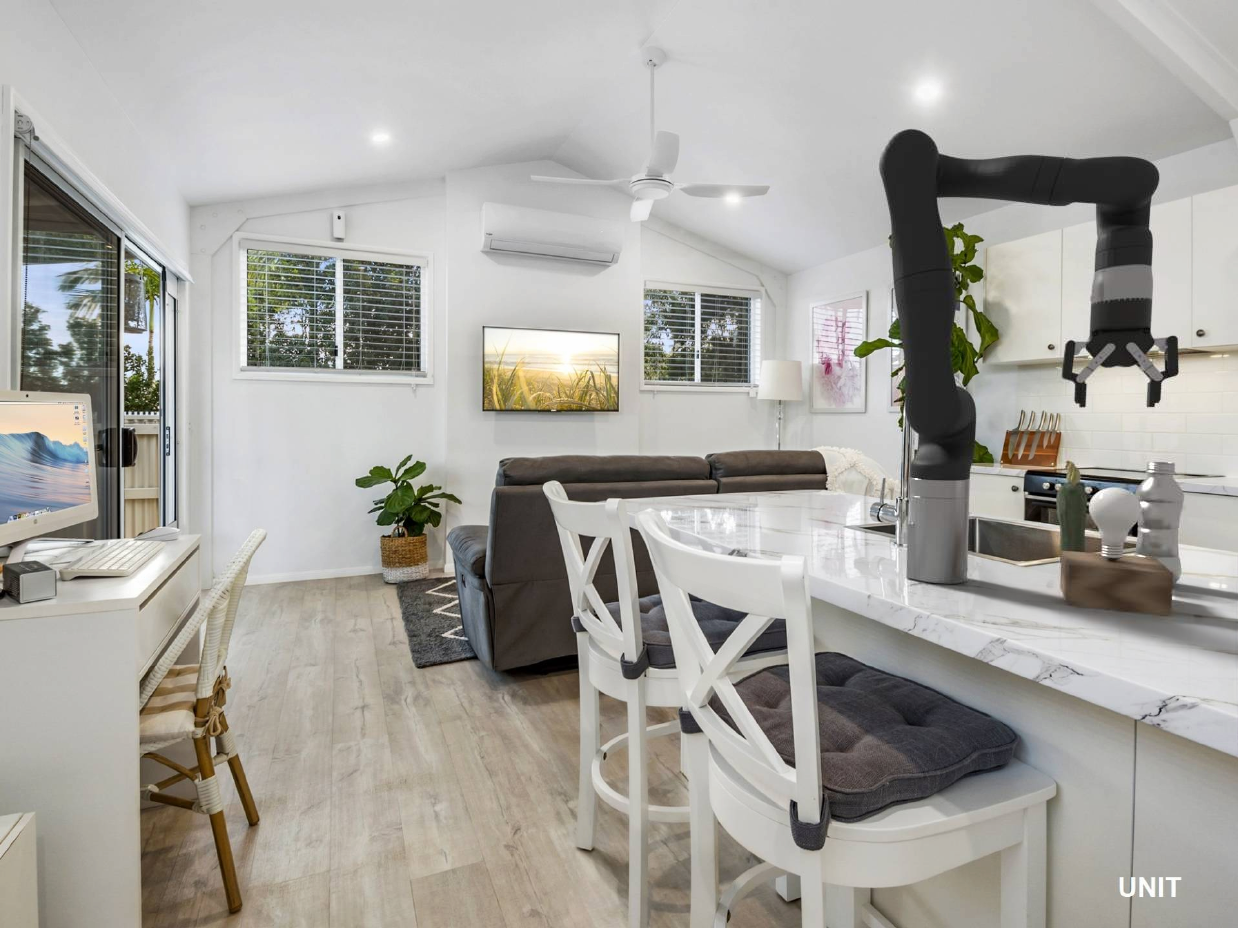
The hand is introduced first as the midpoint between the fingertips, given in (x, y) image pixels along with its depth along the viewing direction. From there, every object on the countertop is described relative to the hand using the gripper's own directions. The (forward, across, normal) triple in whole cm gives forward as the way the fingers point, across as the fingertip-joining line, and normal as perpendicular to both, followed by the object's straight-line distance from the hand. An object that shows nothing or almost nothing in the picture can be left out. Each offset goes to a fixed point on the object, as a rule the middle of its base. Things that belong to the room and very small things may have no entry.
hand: (1115, 407), depth 105 cm
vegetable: (+29, -4, +11) cm, 32 cm away
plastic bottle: (+29, +8, +11) cm, 32 cm away
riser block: (+29, 0, -5) cm, 29 cm away
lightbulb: (+23, 0, -4) cm, 24 cm away
